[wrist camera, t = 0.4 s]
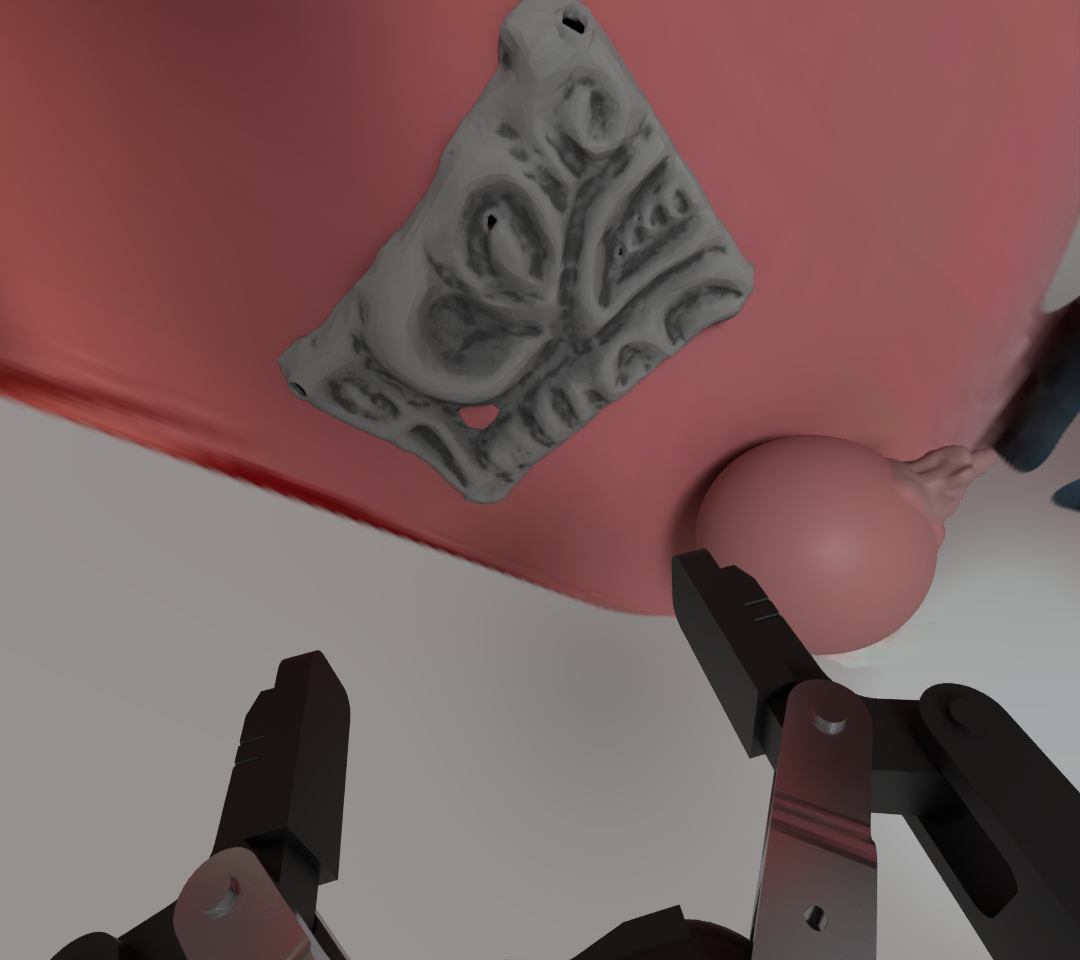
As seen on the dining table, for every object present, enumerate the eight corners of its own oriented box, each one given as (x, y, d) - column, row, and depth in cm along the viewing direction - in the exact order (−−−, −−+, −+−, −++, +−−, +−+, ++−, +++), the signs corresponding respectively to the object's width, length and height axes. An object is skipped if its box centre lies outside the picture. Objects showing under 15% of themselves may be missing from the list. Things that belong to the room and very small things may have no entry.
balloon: (912, 435, 47) (1081, 576, 36) (710, 562, 53) (802, 718, 42) (872, 309, 38) (1085, 450, 27) (629, 480, 43) (721, 657, 32)
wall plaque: (551, -46, 23) (578, -49, 20) (753, 270, 34) (788, 297, 31) (236, 354, 30) (223, 394, 28) (487, 502, 42) (496, 541, 39)
